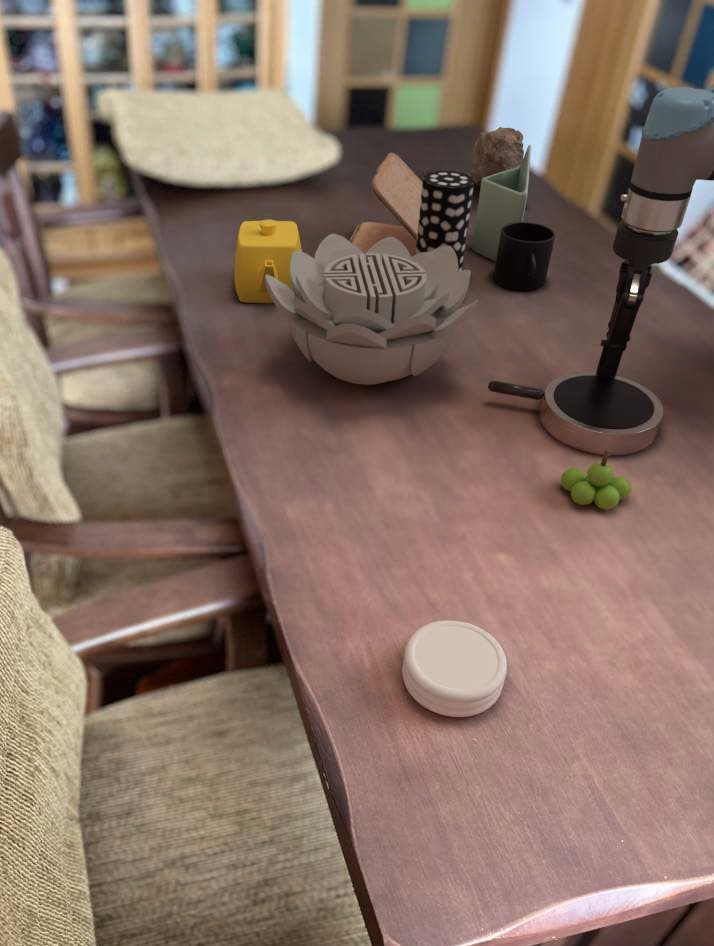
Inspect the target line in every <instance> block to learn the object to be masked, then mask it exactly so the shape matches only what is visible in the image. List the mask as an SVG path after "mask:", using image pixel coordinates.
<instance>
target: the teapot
mask: <svg viewBox="0 0 714 946" xmlns="http://www.w3.org/2000/svg"><path fill="white" fill-rule="evenodd" d="M296 251H300V252H303V250H302V245H301V238H300V234H299V228H298V225H297V223H296V222H295V221H291V220H274V219H268V218H267V219H263V220H244V221H243V222H242V223H241V225H240V227H239V230H238V235H237V240H236V246H235V255H234V266H233V267H234V269H233V271H234V272H233V273H234V274H233V275H234V286H235V290H236V295H237V298H238V299H239V302H241V303H244V304H245V303H248V304H274V302H273V300H272V298H271V297H270V294H269V292H268V290H267V287H266V285H265V276H266V275H270V276H272V277H273V278H275V279H277V280H278V281H280V282H282V283H283V284H285V285H286V286H288V287H290V288H291V289H292V286H291V280H290V263H291V258H292V254H293V253H294V252H296Z"/></svg>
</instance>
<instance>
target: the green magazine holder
mask: <svg viewBox="0 0 714 946" xmlns="http://www.w3.org/2000/svg"><path fill="white" fill-rule="evenodd" d="M531 155H532V145H531V144H529V145H528V146H527V148H526V150H525V152H524V156H523V161H522V163H521V164H520V165H519V166H518V167H517V168H513V169H510V170H506V171H503V172H500V173H497V174H494V175H490V176H488V177H485V178H483V179H482V182H481V186H480V190H479V195H478V202H477V210H476V216H475V223H474V230H473V236H472V241H471V242H472V243H471V250H472V251H474V252H475V253H477V254H479V255H481V256H483V257H485V258H486V259H489V260H491V261H494V262H495V263H496V258H497V252H498V246H499V240H500V234H501V229H502V228H503V227H504V226H505V225H507V224H510V223H515V222H524V218H525V217H524V216H525V211H526V206H527V201H528V193H529V187H528V182H529V174H530V169H531V168H530V167H531V157H532V156H531ZM529 183H530V182H529Z"/></svg>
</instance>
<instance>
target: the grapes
mask: <svg viewBox="0 0 714 946" xmlns="http://www.w3.org/2000/svg"><path fill="white" fill-rule="evenodd" d="M609 453H610V452H609V450H605V452H604V455H602V458H601V461H598V462H594V463H593V464H591V466H590V467H589V468H588V470H587V475H585V473H584V471H582V470H581V469H580V468H577V467H570V468H567V469H566V470H564V472H562V474H561V477H560V483H561V486H562V488H563V489H565V491H568V492H570V498H571V499H572V501H573V502H574V503H576V504H577V505H579V506H587V505H590V504H592V503H593V502H594V504H595V505H596V506H597V507H598V508H599V509H601V510H606V511H607V510H608V511H609V510H612V509H614V508H615V507H616V506H617V505H618V504H619V502H620V501H623V500H625V499H627V498H629V496H630V494H631V493H632V488H633V487H632V486H633V485H632V483H631V481H630V480H629V479H628V478H627V477H625V476H621V475H620V476H619V475H618V476H614V470H613V468H612V466H611V465H609V464H608V459H609V456H610V455H609Z"/></svg>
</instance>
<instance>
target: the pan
mask: <svg viewBox="0 0 714 946" xmlns="http://www.w3.org/2000/svg"><path fill="white" fill-rule="evenodd" d="M487 389H488V391H490V392H491V393H497V394H501V395H508V396H514V397H518V398H525V399H528V400H529V399H531V400H536V401H540V400H542V402H541V407H540V411H539V419H540V422H541V424H542V426H543V428H544V429H545V430H546V432H547V433H549V435H551V437H553V438H554V439H556V440H557V441H559V442H560V443H562V444H563V445H567V446H569V447H571V448H573V449H576V450H579V451H582V452H584V453H589V454H593V455H600V456H601V455H602V456H603V455H604V452H605V450H609V452H610V453H609V456H625V455H631V454H635V453H638V452H641V451H643V450H645V449H647V448H648V447H649V446H650V445H652V443H653V442H654V440H655V439H656V436H657V433H658V431H659V427H660V426H661V422H662V419H663V416H664V406H663V404H662V402H661V401H660V399H659V398H658V396H656V394H654V393H653V392H652V391H651V390H649V389H648V388H647V387H646V386H643V385H642V384H640V383H638V382H636V381H634V380H631V379H629V378H626V377H624V376H621V375H617V374H616V375H612V374H607V373H600V372H596V371H579V372H571V373H567V374H564V375H560V376H559V377H556V378H554V379H553V380H552V381H550V382H549V383H548V385H547V386H546V388H545V390H543V389H542V388H539V387H533V386H527V385H523V384H515V383H511V382H504V381H498V380H491V381H490V382H488V384H487Z"/></svg>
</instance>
